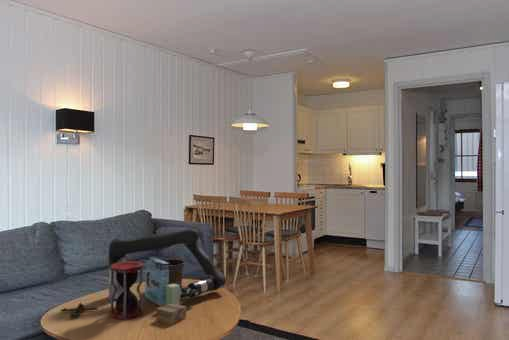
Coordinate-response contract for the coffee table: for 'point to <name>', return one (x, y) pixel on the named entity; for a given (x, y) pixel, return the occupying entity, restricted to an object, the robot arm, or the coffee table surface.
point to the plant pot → (175, 271)
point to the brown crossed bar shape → (78, 310)
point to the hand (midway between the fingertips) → (175, 294)
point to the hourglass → (126, 290)
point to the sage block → (173, 294)
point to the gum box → (156, 280)
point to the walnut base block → (171, 313)
